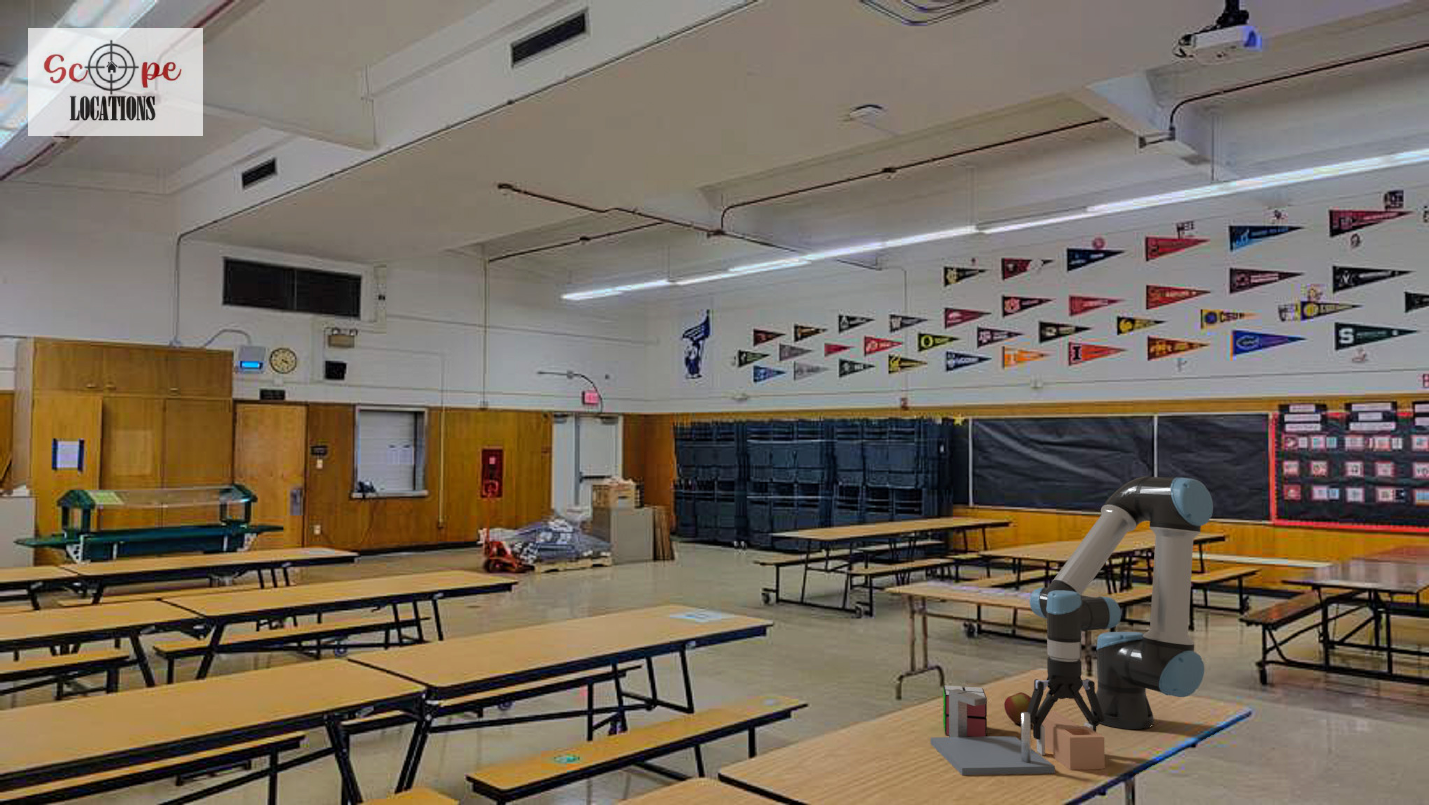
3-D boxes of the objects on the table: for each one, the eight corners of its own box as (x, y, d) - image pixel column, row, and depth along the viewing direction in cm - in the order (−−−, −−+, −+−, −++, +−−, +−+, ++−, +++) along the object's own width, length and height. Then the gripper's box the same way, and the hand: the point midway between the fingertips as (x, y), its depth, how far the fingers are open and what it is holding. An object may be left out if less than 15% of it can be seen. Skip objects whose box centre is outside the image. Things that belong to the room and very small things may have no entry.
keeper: (959, 738, 221) (959, 688, 222) (987, 749, 213) (986, 697, 214) (947, 740, 219) (947, 690, 220) (974, 751, 212) (974, 699, 212)
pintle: (1028, 766, 202) (1028, 712, 202) (1032, 769, 200) (1031, 714, 200) (1019, 766, 202) (1019, 712, 202) (1023, 769, 200) (1023, 714, 200)
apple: (1023, 718, 239) (1023, 687, 239) (1043, 727, 231) (1043, 695, 231) (998, 720, 236) (998, 689, 237) (1018, 730, 229) (1018, 698, 229)
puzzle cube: (987, 739, 221) (986, 697, 222) (945, 736, 223) (945, 695, 224) (983, 726, 231) (983, 687, 232) (943, 724, 233) (943, 684, 234)
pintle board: (1014, 742, 219) (1014, 736, 219) (1054, 773, 198) (1054, 766, 198) (930, 743, 217) (930, 737, 217) (962, 775, 196) (962, 768, 196)
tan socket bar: (1029, 740, 220) (1029, 711, 221) (1061, 739, 221) (1061, 710, 222) (1070, 769, 200) (1069, 737, 200) (1104, 769, 201) (1104, 737, 201)
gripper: (1103, 654, 217) (1104, 746, 216) (1009, 654, 215) (1009, 748, 214) (1120, 661, 209) (1121, 757, 208) (1023, 662, 207) (1023, 759, 206)
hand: (1064, 752), depth 211 cm, fingers open, 11 cm apart
